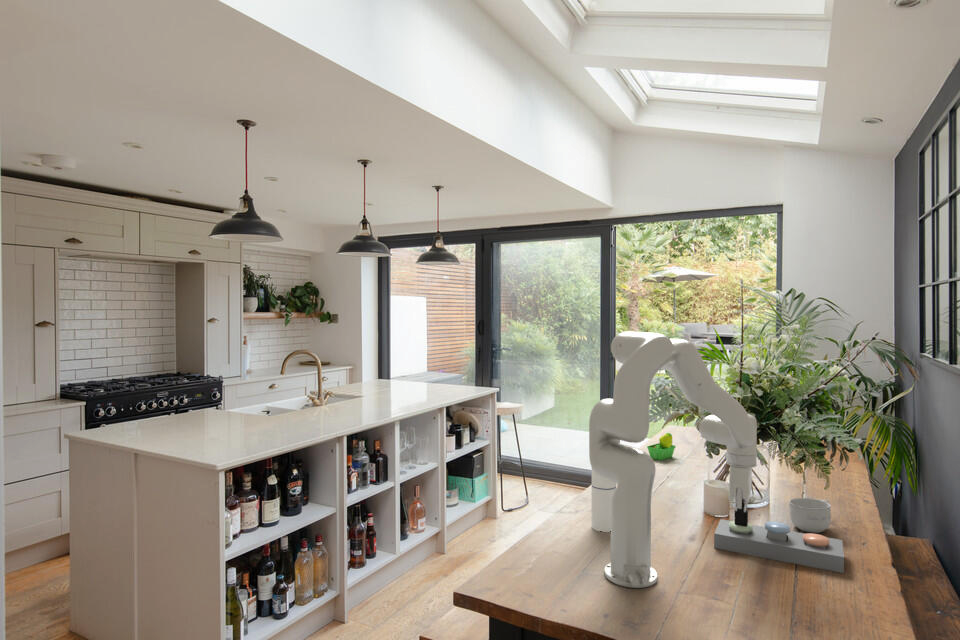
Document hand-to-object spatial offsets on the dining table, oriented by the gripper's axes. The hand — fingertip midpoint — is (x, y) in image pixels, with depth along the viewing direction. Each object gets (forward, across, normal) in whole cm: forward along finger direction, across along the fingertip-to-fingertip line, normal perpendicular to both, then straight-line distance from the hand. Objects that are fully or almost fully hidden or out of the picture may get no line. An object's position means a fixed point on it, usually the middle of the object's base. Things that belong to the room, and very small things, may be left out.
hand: (741, 524), depth 160 cm
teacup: (+6, -23, +17) cm, 30 cm away
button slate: (+3, 0, +9) cm, 9 cm away
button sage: (+4, 0, 0) cm, 4 cm away
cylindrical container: (+6, +7, -37) cm, 38 cm away
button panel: (+6, 0, +9) cm, 10 cm away
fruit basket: (+6, -82, -40) cm, 91 cm away
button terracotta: (+4, 0, +18) cm, 18 cm away
